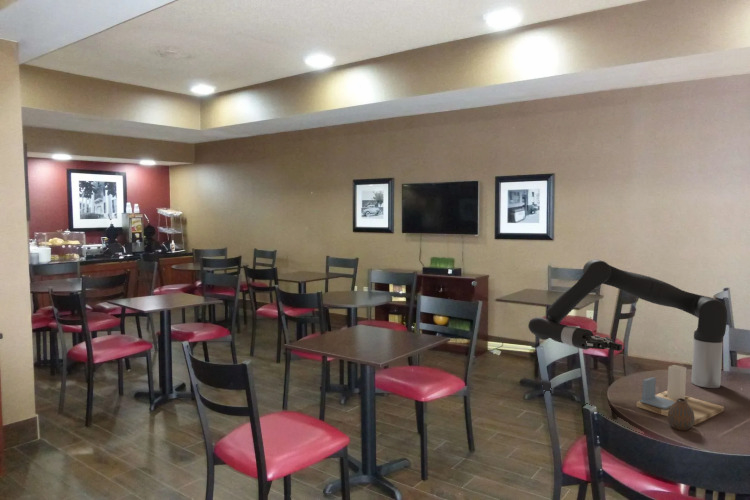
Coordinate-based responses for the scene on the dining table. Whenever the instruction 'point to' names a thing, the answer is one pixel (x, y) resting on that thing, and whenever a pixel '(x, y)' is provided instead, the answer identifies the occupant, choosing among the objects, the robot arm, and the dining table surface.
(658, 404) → the blue l-shaped block
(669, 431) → the dining table surface
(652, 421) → the dining table surface
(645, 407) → the puzzle board
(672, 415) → the vase
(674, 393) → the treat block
